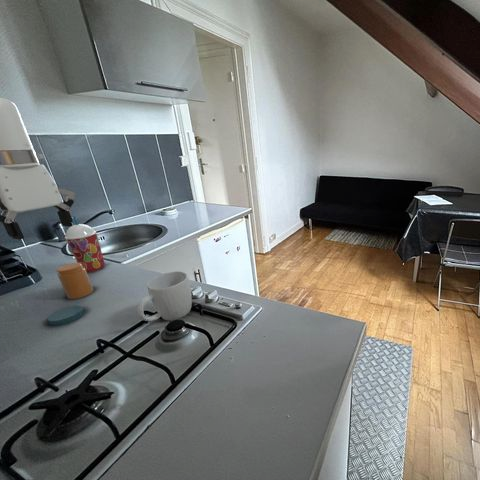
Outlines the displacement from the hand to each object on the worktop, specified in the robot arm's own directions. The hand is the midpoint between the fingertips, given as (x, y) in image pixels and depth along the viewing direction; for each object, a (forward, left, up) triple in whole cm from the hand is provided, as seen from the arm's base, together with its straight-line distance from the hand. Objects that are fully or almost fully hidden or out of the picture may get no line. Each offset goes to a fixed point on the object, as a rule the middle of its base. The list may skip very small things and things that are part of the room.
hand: (45, 231), depth 64 cm
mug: (+29, +4, -22) cm, 37 cm away
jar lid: (+3, -4, -21) cm, 21 cm away
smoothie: (-22, +18, -22) cm, 36 cm away
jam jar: (-7, +5, -22) cm, 24 cm away
